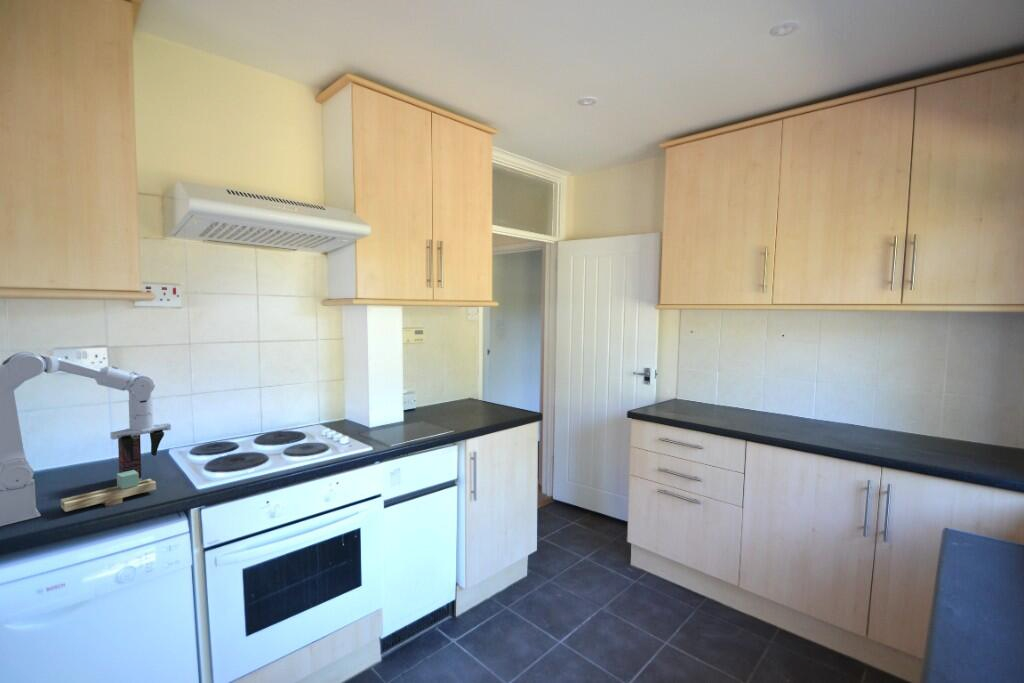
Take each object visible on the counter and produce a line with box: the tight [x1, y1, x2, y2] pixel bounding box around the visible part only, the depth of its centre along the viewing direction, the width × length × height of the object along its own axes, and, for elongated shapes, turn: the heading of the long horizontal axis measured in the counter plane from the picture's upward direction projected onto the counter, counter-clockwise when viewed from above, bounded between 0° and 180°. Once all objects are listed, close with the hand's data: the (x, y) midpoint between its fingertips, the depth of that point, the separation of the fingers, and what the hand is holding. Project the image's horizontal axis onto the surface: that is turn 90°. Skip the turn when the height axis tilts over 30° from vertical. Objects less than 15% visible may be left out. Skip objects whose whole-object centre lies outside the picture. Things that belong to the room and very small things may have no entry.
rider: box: [116, 470, 139, 489], centre depth 135 cm, size 4×5×5 cm
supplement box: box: [117, 435, 143, 481], centre depth 150 cm, size 9×5×16 cm, turn 48°
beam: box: [60, 478, 157, 513], centre depth 132 cm, size 20×6×4 cm, turn 144°
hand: (142, 457), depth 142 cm, fingers open, 5 cm apart
